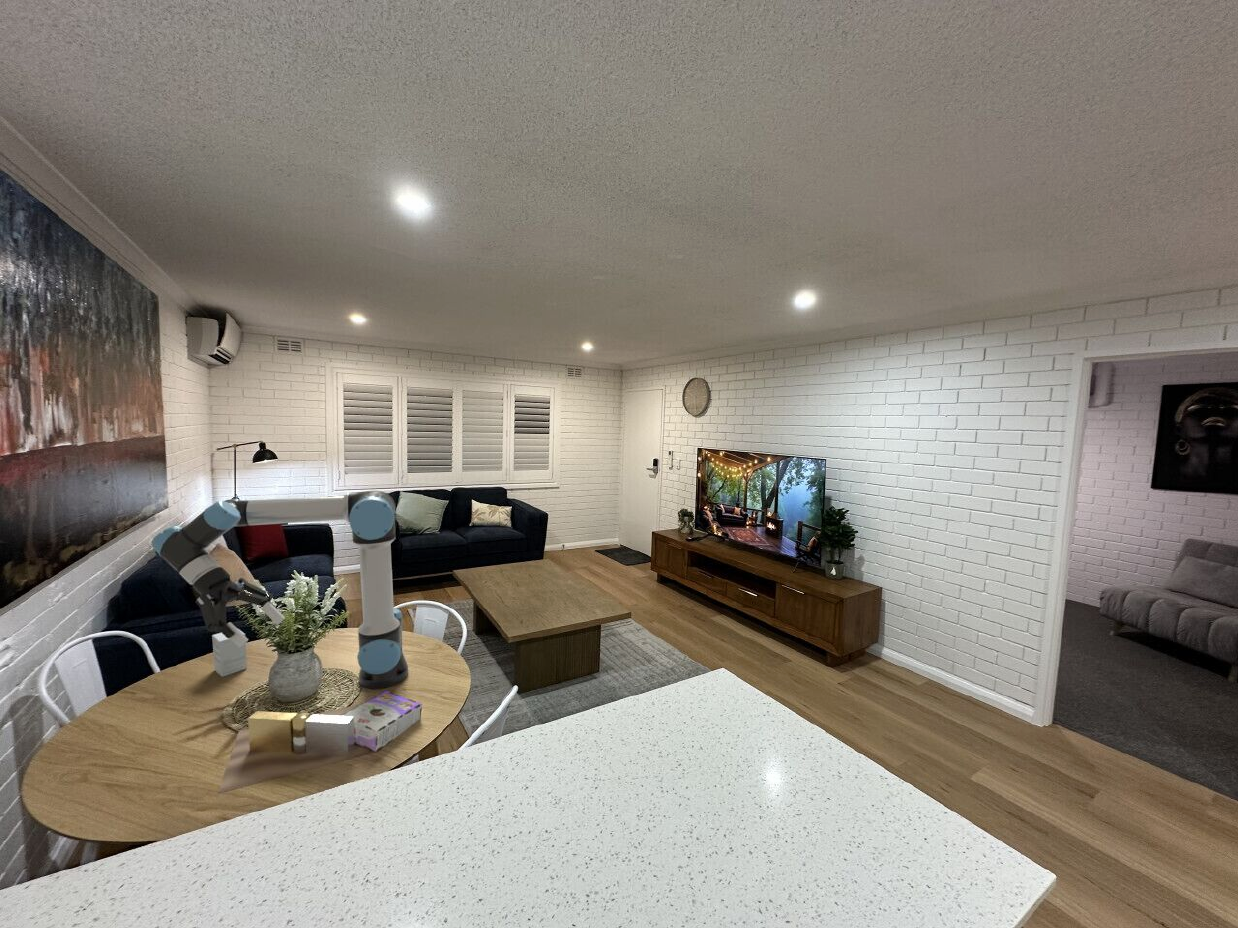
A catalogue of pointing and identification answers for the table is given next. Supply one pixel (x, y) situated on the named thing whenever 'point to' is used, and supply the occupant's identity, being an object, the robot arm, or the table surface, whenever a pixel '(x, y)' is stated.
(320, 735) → the fixed hinge leaf
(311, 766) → the walnut board
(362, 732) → the candy box
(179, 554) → the robot arm
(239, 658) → the grey tall block
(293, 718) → the loose hinge leaf
